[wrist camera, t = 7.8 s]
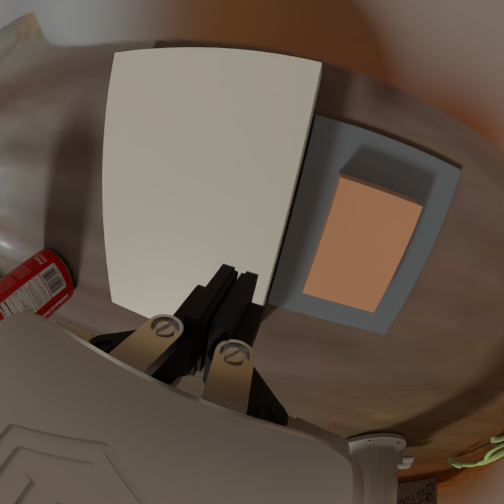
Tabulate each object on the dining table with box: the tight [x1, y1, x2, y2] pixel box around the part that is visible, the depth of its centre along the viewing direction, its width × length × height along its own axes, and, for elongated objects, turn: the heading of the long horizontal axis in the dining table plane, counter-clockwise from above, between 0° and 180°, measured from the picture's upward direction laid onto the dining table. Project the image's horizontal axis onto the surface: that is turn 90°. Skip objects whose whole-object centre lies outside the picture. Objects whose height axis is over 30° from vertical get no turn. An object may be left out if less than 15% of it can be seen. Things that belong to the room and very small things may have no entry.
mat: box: [267, 115, 461, 335], centre depth 20 cm, size 12×16×1 cm
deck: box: [102, 47, 322, 319], centre depth 20 cm, size 14×22×4 cm, turn 169°
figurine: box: [446, 435, 504, 468], centre depth 27 cm, size 18×27×6 cm
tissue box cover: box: [397, 477, 437, 504], centre depth 42 cm, size 26×14×10 cm, turn 95°
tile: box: [302, 172, 423, 313], centre depth 19 cm, size 6×9×2 cm, turn 169°
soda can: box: [0, 249, 74, 321], centre depth 25 cm, size 8×8×15 cm
